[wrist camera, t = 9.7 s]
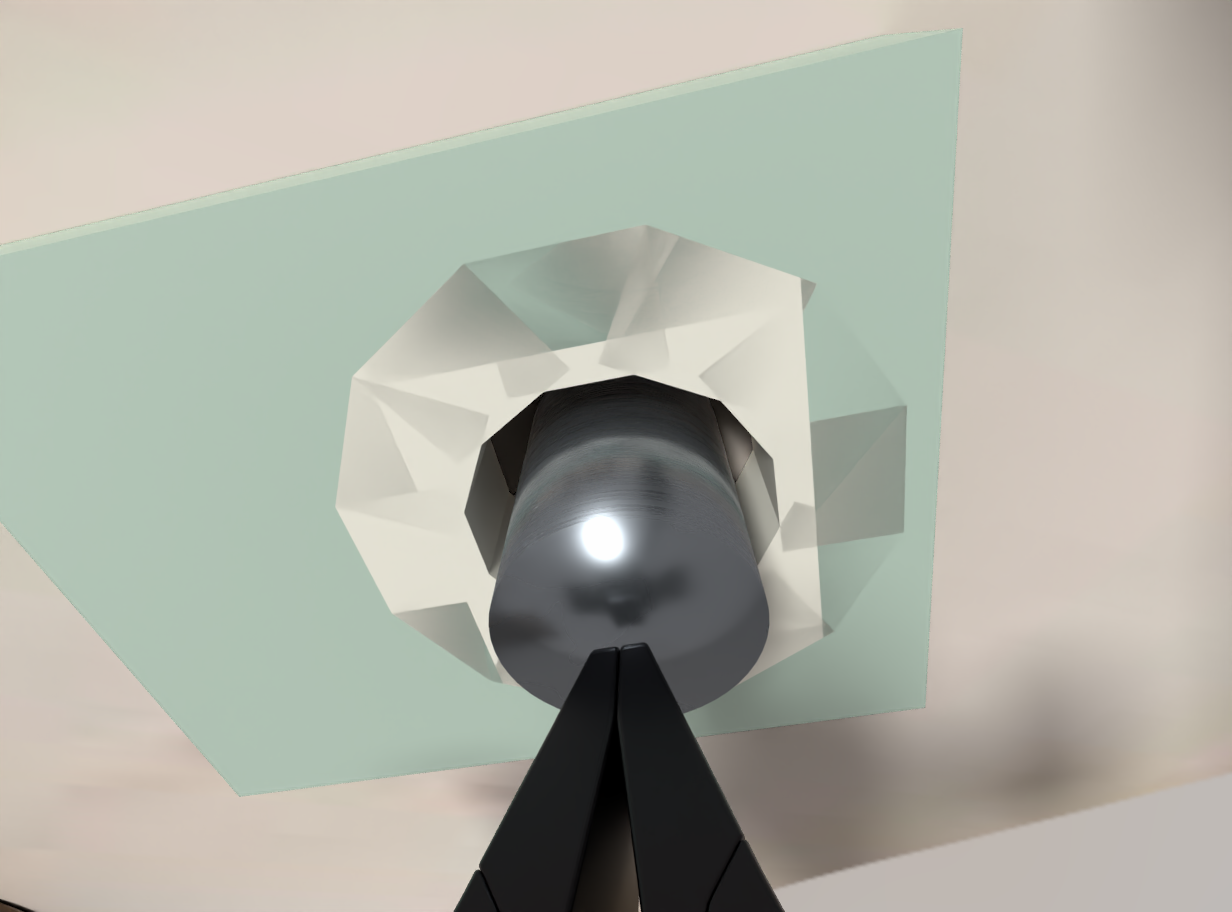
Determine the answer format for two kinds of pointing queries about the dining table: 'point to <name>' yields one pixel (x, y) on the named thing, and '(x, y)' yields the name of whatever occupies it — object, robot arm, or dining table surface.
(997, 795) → the dining table surface
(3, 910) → the plant pot
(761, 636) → the dark metal cylinder
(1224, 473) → the dining table surface
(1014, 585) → the dining table surface
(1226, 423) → the dining table surface
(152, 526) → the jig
